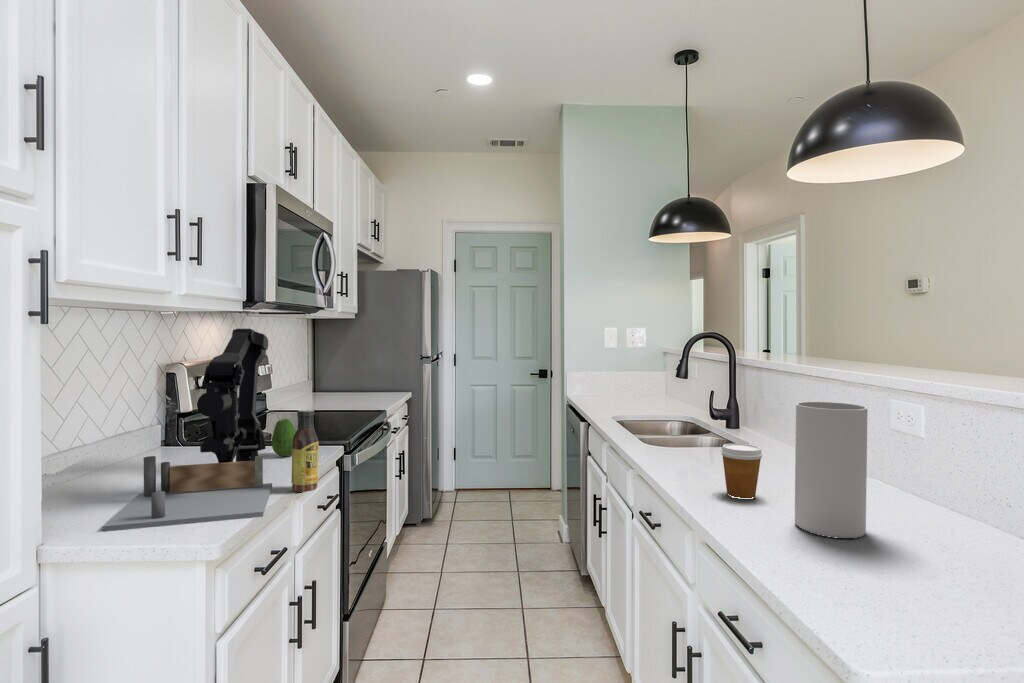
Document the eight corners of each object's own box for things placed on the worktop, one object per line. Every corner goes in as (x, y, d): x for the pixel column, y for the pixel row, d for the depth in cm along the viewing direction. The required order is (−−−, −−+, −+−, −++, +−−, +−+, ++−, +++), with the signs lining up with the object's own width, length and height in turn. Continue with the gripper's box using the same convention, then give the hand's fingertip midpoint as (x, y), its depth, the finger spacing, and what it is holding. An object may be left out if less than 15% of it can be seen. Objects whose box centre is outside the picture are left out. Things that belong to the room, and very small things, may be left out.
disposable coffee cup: (713, 496, 136) (714, 447, 135) (729, 488, 143) (729, 441, 142) (754, 505, 129) (754, 453, 129) (768, 496, 136) (768, 446, 136)
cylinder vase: (783, 518, 120) (785, 401, 119) (843, 519, 119) (844, 402, 119) (813, 540, 107) (815, 409, 107) (880, 541, 107) (881, 410, 107)
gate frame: (140, 497, 133) (139, 455, 133) (272, 486, 143) (272, 447, 143) (102, 531, 111) (102, 480, 110) (263, 516, 120) (262, 469, 120)
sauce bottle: (309, 493, 137) (309, 412, 136) (286, 492, 138) (285, 411, 138) (323, 486, 143) (323, 408, 143) (301, 485, 144) (301, 408, 144)
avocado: (276, 454, 181) (275, 417, 180) (301, 453, 181) (301, 416, 181) (268, 459, 173) (267, 421, 172) (294, 459, 174) (294, 420, 173)
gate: (160, 493, 131) (159, 463, 131) (162, 491, 133) (161, 462, 133) (262, 485, 138) (262, 457, 138) (262, 483, 140) (262, 455, 140)
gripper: (200, 407, 146) (200, 467, 146) (175, 417, 128) (175, 485, 128) (246, 406, 149) (246, 464, 149) (228, 415, 131) (228, 482, 131)
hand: (224, 473), depth 139 cm, fingers closed
